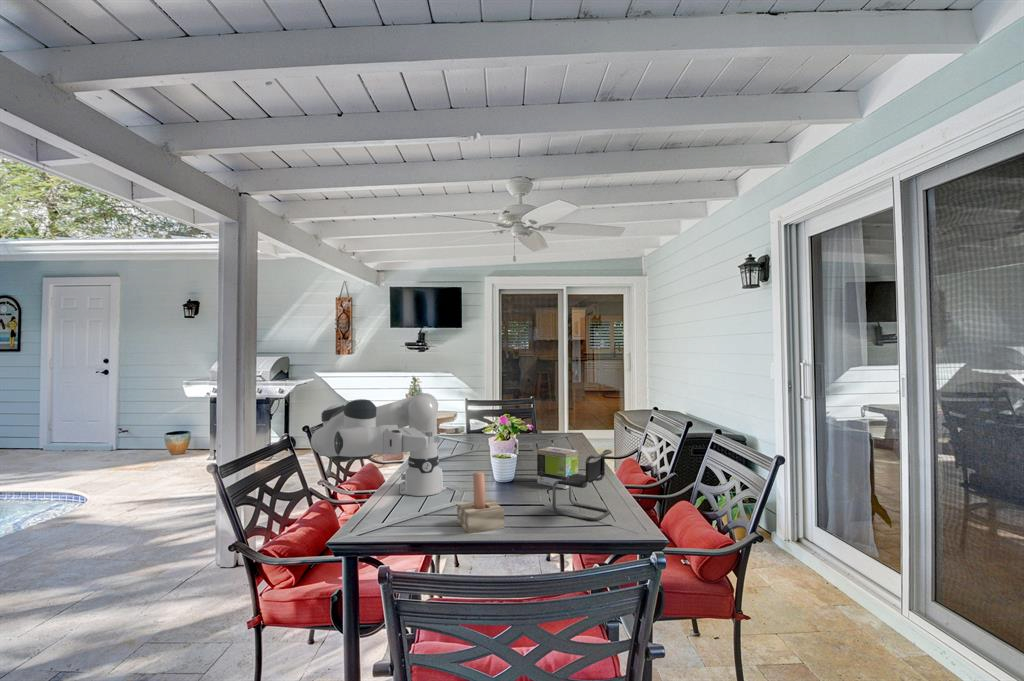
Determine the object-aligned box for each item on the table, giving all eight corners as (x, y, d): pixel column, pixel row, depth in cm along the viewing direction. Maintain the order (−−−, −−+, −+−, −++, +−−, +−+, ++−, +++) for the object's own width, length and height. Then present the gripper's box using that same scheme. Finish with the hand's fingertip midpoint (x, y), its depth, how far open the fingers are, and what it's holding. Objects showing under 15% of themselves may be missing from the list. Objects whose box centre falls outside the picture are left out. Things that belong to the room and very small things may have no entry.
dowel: (473, 519, 169) (471, 473, 169) (483, 517, 171) (482, 471, 171) (476, 522, 166) (475, 475, 166) (487, 520, 167) (485, 474, 168)
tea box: (579, 485, 218) (579, 449, 218) (565, 490, 210) (565, 453, 210) (550, 479, 228) (550, 445, 228) (536, 483, 220) (536, 448, 220)
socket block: (457, 521, 172) (457, 503, 172) (491, 517, 176) (491, 499, 176) (468, 533, 160) (468, 514, 161) (504, 528, 165) (504, 509, 165)
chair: (596, 522, 170) (596, 455, 171) (551, 513, 181) (551, 449, 181) (613, 512, 181) (613, 449, 181) (570, 504, 191) (570, 444, 191)
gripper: (385, 444, 167) (427, 441, 172) (397, 456, 148) (444, 452, 154) (385, 424, 167) (427, 422, 173) (397, 434, 148) (444, 431, 154)
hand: (435, 436), depth 163 cm, fingers open, 8 cm apart
